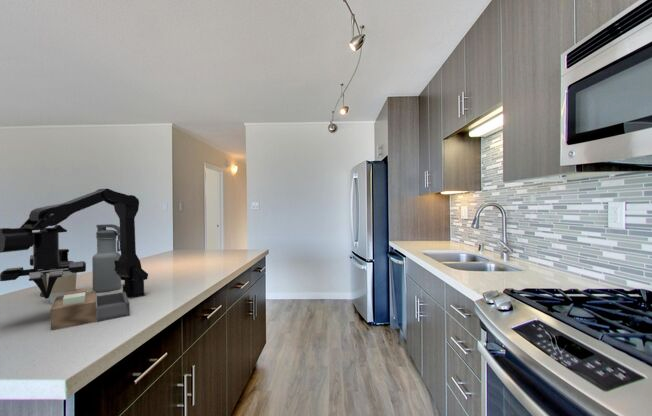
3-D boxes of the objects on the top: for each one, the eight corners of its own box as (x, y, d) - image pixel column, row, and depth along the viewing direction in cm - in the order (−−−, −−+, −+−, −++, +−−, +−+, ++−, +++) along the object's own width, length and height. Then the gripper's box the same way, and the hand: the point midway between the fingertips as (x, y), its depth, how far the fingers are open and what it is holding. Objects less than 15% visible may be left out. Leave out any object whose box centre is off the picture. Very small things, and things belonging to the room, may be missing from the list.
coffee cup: (59, 298, 114) (58, 259, 114) (84, 297, 114) (83, 259, 114) (38, 305, 105) (37, 264, 105) (65, 304, 105) (64, 263, 105)
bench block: (95, 308, 101) (95, 290, 101) (95, 321, 88) (95, 302, 88) (56, 315, 95) (56, 296, 95) (50, 330, 82) (50, 309, 82)
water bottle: (124, 285, 132) (123, 223, 132) (119, 290, 123) (118, 224, 123) (96, 288, 127) (95, 224, 127) (89, 293, 119) (88, 225, 119)
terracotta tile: (86, 293, 98) (86, 287, 98) (85, 296, 94) (85, 290, 94) (66, 296, 95) (66, 290, 95) (65, 300, 91) (64, 293, 91)
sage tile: (85, 298, 92) (85, 292, 92) (85, 302, 88) (85, 295, 88) (64, 301, 89) (64, 295, 89) (62, 305, 85) (62, 299, 85)
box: (125, 302, 106) (125, 291, 106) (129, 315, 93) (129, 303, 93) (97, 307, 101) (96, 296, 101) (97, 322, 88) (96, 308, 88)
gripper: (86, 243, 102) (86, 287, 102) (8, 248, 90) (9, 298, 90) (84, 246, 93) (85, 294, 93) (-1, 252, 82) (0, 307, 82)
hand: (47, 298), depth 90 cm, fingers closed
